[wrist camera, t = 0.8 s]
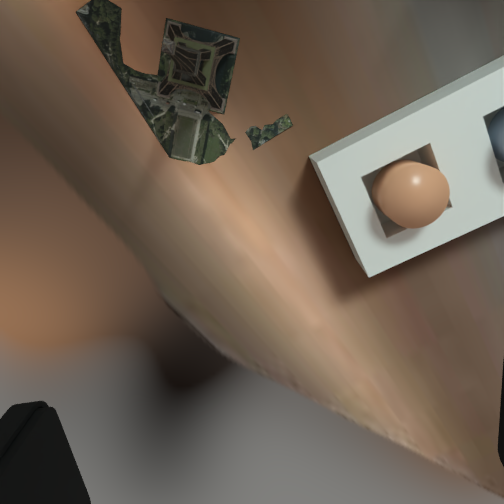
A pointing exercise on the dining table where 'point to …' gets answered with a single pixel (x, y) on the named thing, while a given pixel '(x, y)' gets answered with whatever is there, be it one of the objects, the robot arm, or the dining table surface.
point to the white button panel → (426, 152)
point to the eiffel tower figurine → (179, 84)
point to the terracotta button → (410, 193)
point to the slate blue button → (497, 134)
